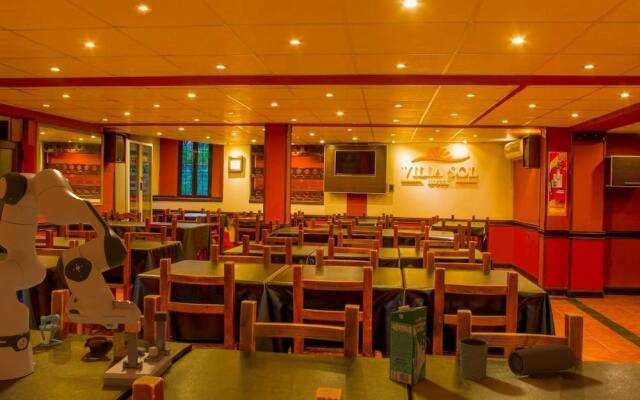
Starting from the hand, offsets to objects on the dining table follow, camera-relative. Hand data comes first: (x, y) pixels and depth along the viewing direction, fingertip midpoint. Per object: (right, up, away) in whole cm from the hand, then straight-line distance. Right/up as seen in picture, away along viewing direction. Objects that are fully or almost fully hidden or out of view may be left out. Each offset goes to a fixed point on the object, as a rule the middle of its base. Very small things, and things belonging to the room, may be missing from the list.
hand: (112, 327), depth 163 cm
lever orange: (+1, -16, +16) cm, 23 cm away
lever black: (+6, -16, +30) cm, 35 cm away
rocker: (-3, -16, +30) cm, 34 cm away
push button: (+5, -17, +25) cm, 31 cm away
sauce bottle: (-11, -21, +38) cm, 45 cm away
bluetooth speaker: (+141, -23, +26) cm, 145 cm away
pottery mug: (-21, -21, +42) cm, 51 cm away
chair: (-47, -20, +56) cm, 76 cm away
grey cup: (+116, -23, +25) cm, 121 cm away
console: (+1, -21, +22) cm, 31 cm away
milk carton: (+93, -23, +21) cm, 98 cm away
